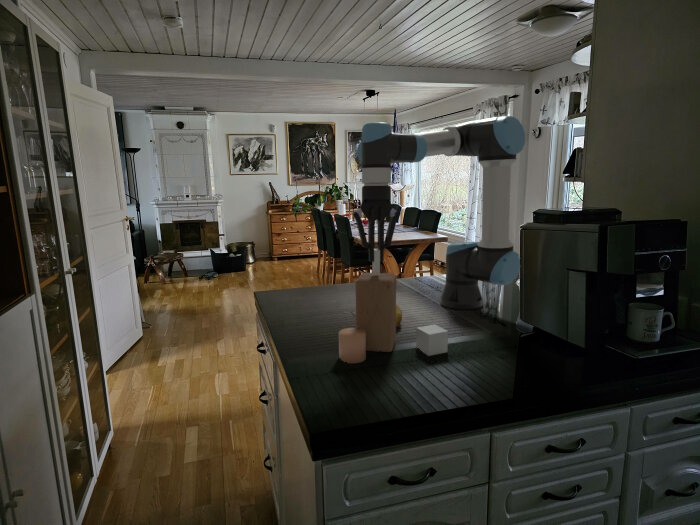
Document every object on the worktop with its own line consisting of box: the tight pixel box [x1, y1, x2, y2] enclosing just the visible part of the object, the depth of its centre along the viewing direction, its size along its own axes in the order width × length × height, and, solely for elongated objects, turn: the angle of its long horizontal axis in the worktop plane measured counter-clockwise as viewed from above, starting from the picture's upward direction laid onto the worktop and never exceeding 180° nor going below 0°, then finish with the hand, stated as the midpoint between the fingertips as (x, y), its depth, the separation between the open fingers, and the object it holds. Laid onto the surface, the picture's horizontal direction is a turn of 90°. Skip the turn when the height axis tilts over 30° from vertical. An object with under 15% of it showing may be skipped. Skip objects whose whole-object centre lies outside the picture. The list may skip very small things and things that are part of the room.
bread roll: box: [396, 303, 403, 328], centre depth 139 cm, size 13×10×8 cm
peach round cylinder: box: [338, 327, 367, 364], centre depth 112 cm, size 7×7×7 cm
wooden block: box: [355, 272, 397, 353], centre depth 119 cm, size 10×10×20 cm
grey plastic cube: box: [415, 324, 449, 357], centre depth 117 cm, size 6×6×6 cm
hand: (376, 273), depth 117 cm, fingers closed
